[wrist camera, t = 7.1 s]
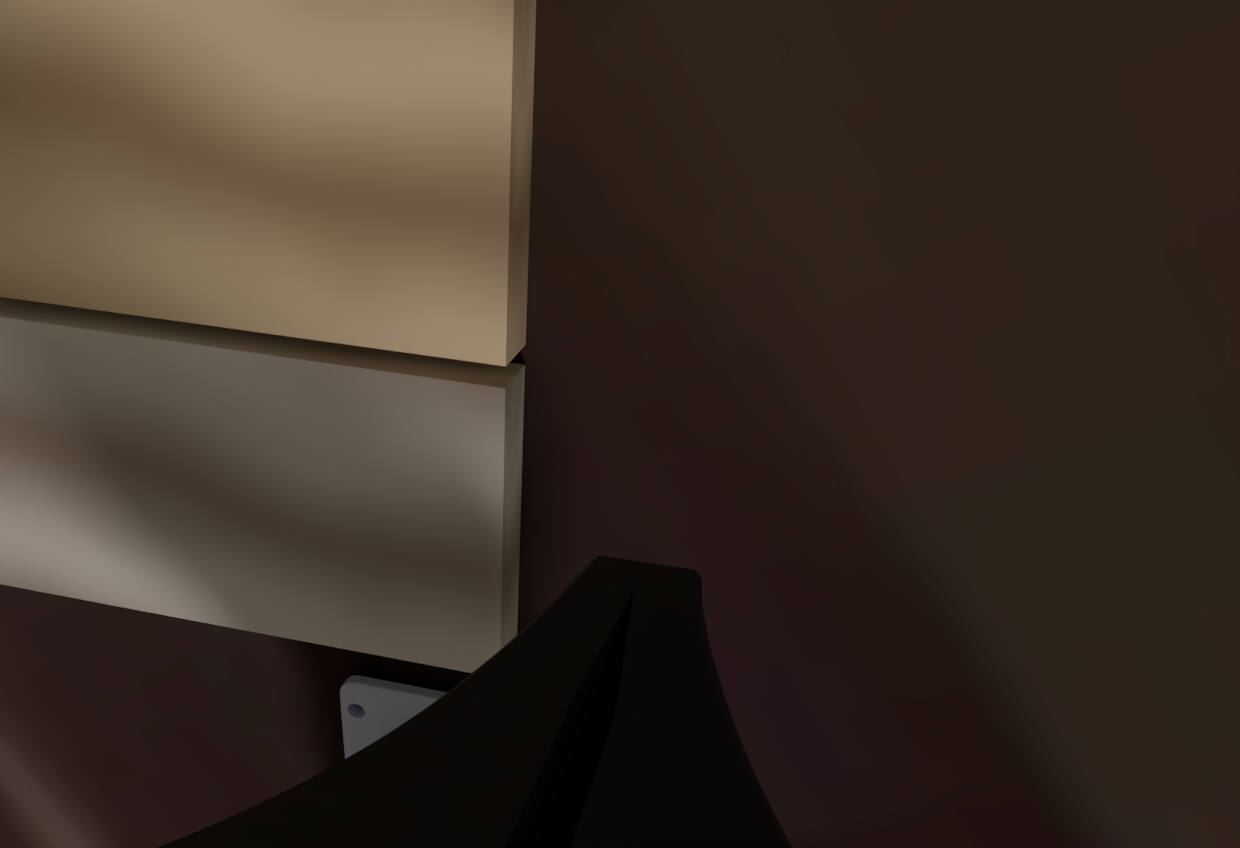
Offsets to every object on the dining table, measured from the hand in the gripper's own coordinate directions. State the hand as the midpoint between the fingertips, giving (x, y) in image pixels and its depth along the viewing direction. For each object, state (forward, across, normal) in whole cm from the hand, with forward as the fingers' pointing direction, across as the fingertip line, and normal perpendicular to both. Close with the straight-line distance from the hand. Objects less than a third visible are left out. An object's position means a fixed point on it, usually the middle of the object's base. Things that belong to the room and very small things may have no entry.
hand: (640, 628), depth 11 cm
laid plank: (+9, +15, +4) cm, 18 cm away
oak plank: (+9, +15, -4) cm, 18 cm away
